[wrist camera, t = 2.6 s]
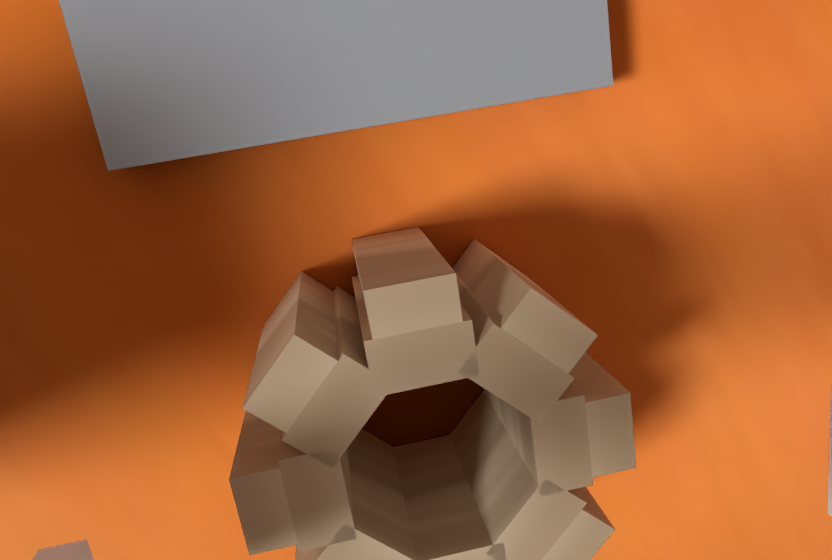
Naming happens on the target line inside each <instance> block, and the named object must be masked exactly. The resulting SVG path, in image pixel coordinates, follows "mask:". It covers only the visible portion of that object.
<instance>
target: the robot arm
mask: <svg viewBox="0 0 832 560" xmlns="http://www.w3.org/2000/svg"><path fill="white" fill-rule="evenodd" d="M828 514H829V515H830V516H832V383H831V408H830V445H829V483H828ZM33 560H94V559H93V556H92V554H91V551H90V548H89V545H88V542H87V540H83V541H78V542H73V543H69V544H64V545H59V546H54V547H50V548H45V549H40V550H38V552H37V553H36V555H35V557H34V558H33Z"/></svg>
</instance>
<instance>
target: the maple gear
mask: <svg viewBox="0 0 832 560" xmlns="http://www.w3.org/2000/svg"><path fill="white" fill-rule="evenodd" d="M351 240H352V246H353V251H354V256H355V261H356V267H357V272H358V276H354V277H352V282H353V288H354V293H355V297H353V296H352V295H350V294H349V293H347V292H346V291H344V290H342V289H341V288H339V287H338V286H337V287H336V288H335V290H334V291H332V290H330V289H329V288H327V287H325V286H324V285H322V284H321V283H319V282H318V281H316V280H315V279H313V278H311V277H310V276H308V275H307V274H305V273H304V272H302V271H301V272H300V274H299V275H298V277H297V278H296V280H295V281H294V282H293V284H292V285H291V287H290V288H289V290H288V291H287V292H286V294H285V295H284V297H283V298H282V300H281V301H280V303H279V304H278V305H277V307H276V308H275V310H274V311H273V313H272V314H271V316H270V317H269V318H268V320H267V321H266V323H265V324H264V326H263V330H262V334H261V337H260V341H259V345H258V349H257V353H256V357H255V361H254V365H253V369H252V373H251V377H250V381H249V384H248V388H247V392H246V396H245V400H244V404H243V408H242V409H244V410H246V412H245V416H244V420H243V424H242V428H241V433H240V437H239V441H238V445H237V449H236V453H235V457H234V461H233V466H232V470H231V474H230V478H229V481H230V485H231V488H232V492H233V496H234V499H235V503H236V507H237V510H238V514H239V518H240V522H241V525H242V529H243V533H244V536H245V540H246V544H247V547H248V551H249V555H253V554H257V553H262V552H266V551H271V550H275V549H280V548H284V547H288V546H293V545H296V554H295V560H591V559H592V557H593V556H594V555H595V554H596V553H597V551H598V550H599V549H600V548H601V546H602V545H603V544H604V543H605V542H606V540H607V539H608V538H609V537H610V535H611V534H612V533H613V532H614V531H615V528H614V527H613V526H612V524H611V523H610V521H609V520H608V518H607V517H606V515H605V514H604V513H603V511H602V510H601V508H600V507H599V505H598V504H597V503H596V501H595V500H594V498H593V497H592V495H591V494H590V492H589V491H588V490H587V488H586V486H590V485H593V479H592V478H593V477H597V476H602V475H606V474H611V473H615V472H619V471H624V470H628V469H633V468H636V458H635V445H634V432H633V418H632V405H631V393H630V392H629V391H628V390H627V389H626V388H625V387H624V386H622V385H621V384H620V383H619V382H618V381H617V380H616V379H615V378H614V377H613V376H612V375H611V374H609V373H608V372H607V371H606V370H605V369H604V368H603V367H602V366H601V365H600V364H599V363H598V362H597V361H595V360H594V359H593V358H592V357H591V356H590V355H589V354H588V353H587V352H586V350H587V349H588V348H589V347H590V345H591V344H592V343H593V341H594V340H595V339H596V338H597V336H598V335H597V334H596V333H595V332H594V331H593V330H591V329H590V328H589V327H588V326H587V325H585V324H584V323H583V322H582V321H581V320H579V319H578V318H577V317H576V316H574V315H573V314H572V313H571V312H570V311H568V310H567V309H566V308H565V307H564V306H562V305H561V304H560V303H559V302H558V301H556V300H555V299H554V298H553V297H551V296H550V295H549V294H548V293H547V292H545V291H544V290H543V289H542V288H541V287H539V286H538V285H537V284H536V283H535V282H533V281H532V280H531V279H530V278H528V277H527V276H526V275H525V274H523V273H522V272H521V271H519V270H518V269H516V268H515V267H514V266H512V265H511V264H509V263H508V262H507V261H505V260H504V259H502V258H501V257H499V256H498V255H497V254H495V253H494V252H492V251H491V250H490V249H488V248H487V247H485V246H484V245H483V244H481V243H480V242H478V241H477V240H476V239H474V240H473V241H472V242H471V244H470V245H469V246H468V248H467V249H466V251H465V252H464V253H463V255H462V256H461V257H460V259H459V260H458V261H457V263H456V264H455V266H454V267H453V268H451V266H450V265H449V264H448V263H447V261H446V260H445V259H444V258H443V256H442V255H441V254H440V253H439V252H438V250H437V249H436V248H435V247H434V245H433V244H432V243H431V242H430V240H429V239H428V238H427V237H426V235H425V234H424V233H423V232H422V231H421V229H420V228H419V227H415V228H410V229H404V230H399V231H394V232H388V233H383V234H377V235H372V236H367V237H361V238H356V239H351ZM465 378H469V379H470V380H472V381H474V382H475V383H477V384H478V385H480V386H481V387H483V391H482V393H481V394H480V395H479V397H478V398H477V399H476V401H475V402H474V403H473V405H472V406H471V407H470V409H469V410H468V411H467V413H466V414H465V415H464V417H463V418H462V419H461V420H460V422H459V423H458V424H457V426H456V427H455V428H454V430H453V431H452V432H451V434H450V435H447V436H442V437H438V438H433V439H428V440H424V441H419V442H415V443H410V444H405V445H401V446H396V447H392V446H390V445H389V444H387V443H385V442H384V441H382V440H380V439H378V438H377V437H375V436H373V435H372V434H370V433H368V432H366V431H365V430H363V429H362V428H363V426H364V425H365V423H366V422H367V421H368V419H369V418H370V417H371V415H372V414H373V413H374V411H375V410H376V409H377V407H378V406H379V404H380V403H381V402H382V400H383V399H384V398H385V396H386V395H388V394H393V393H398V392H403V391H407V390H412V389H417V388H422V387H427V386H431V385H436V384H441V383H446V382H451V381H455V380H460V379H465Z"/></svg>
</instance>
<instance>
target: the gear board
mask: <svg viewBox="0 0 832 560" xmlns="http://www.w3.org/2000/svg"><path fill="white" fill-rule="evenodd" d="M59 3H60V6H61V10H62V13H63V17H64V20H65V24H66V27H67V31H68V34H69V38H70V41H71V45H72V48H73V51H74V55H75V58H76V62H77V65H78V69H79V72H80V76H81V79H82V83H83V86H84V90H85V93H86V97H87V100H88V104H89V107H90V111H91V114H92V118H93V121H94V125H95V128H96V132H97V135H98V139H99V142H100V146H101V149H102V153H103V156H104V160H105V163H106V167H107V170H108V171H111V170H117V169H123V168H129V167H135V166H141V165H147V164H152V163H158V162H164V161H170V160H176V159H182V158H188V157H194V156H200V155H206V154H211V153H217V152H223V151H229V150H235V149H241V148H247V147H253V146H259V145H265V144H271V143H276V142H282V141H288V140H294V139H300V138H306V137H312V136H318V135H324V134H330V133H335V132H341V131H347V130H353V129H359V128H365V127H371V126H377V125H383V124H389V123H394V122H400V121H406V120H412V119H418V118H424V117H430V116H436V115H442V114H448V113H453V112H459V111H465V110H471V109H477V108H483V107H489V106H495V105H501V104H507V103H513V102H518V101H524V100H530V99H536V98H542V97H548V96H554V95H560V94H566V93H572V92H577V91H583V90H589V89H595V88H601V87H607V86H613V74H612V60H611V46H610V32H609V19H608V5H607V0H59Z"/></svg>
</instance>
